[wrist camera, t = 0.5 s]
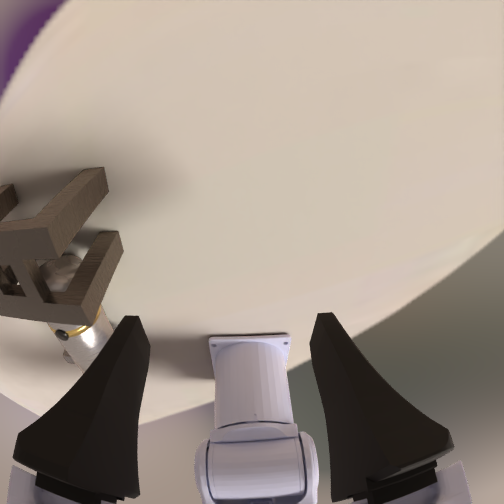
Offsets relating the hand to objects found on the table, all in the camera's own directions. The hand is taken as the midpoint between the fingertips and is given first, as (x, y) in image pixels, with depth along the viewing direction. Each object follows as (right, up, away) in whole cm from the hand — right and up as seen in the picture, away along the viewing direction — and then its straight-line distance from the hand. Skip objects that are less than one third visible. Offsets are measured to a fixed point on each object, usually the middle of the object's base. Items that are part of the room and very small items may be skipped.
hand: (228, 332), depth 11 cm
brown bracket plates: (-14, +6, +7) cm, 17 cm away
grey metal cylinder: (-14, -3, +13) cm, 20 cm away
